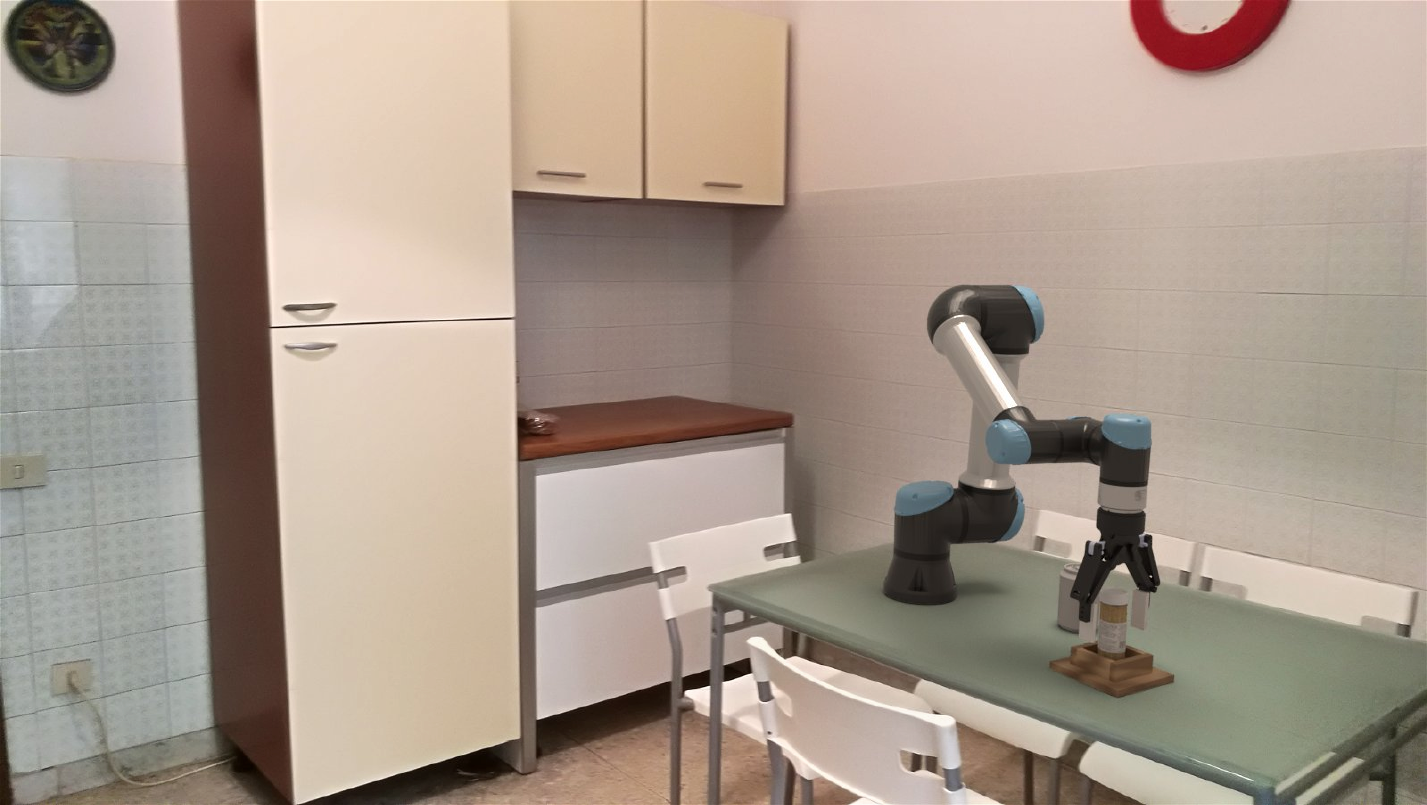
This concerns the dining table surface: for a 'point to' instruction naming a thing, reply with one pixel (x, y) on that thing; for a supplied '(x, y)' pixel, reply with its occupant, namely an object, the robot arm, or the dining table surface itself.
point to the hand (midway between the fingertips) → (1113, 634)
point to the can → (1070, 599)
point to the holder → (1112, 670)
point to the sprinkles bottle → (1112, 623)
